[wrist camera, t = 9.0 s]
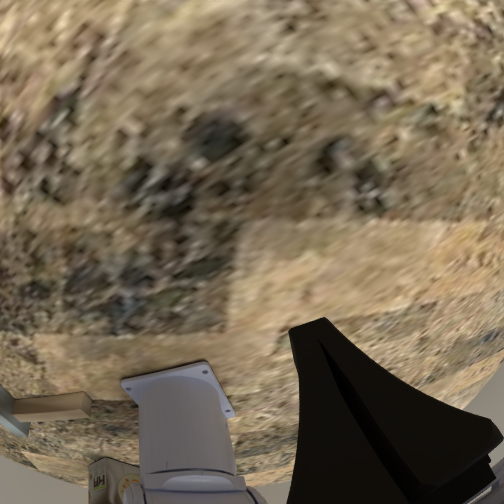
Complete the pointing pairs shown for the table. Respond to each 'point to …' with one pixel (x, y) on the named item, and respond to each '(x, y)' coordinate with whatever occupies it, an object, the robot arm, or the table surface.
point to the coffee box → (110, 481)
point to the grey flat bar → (41, 410)
